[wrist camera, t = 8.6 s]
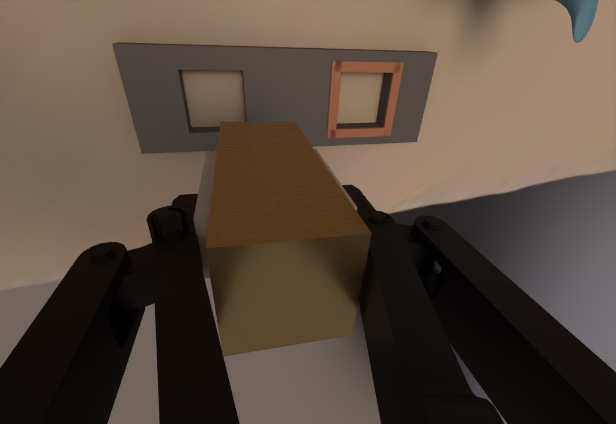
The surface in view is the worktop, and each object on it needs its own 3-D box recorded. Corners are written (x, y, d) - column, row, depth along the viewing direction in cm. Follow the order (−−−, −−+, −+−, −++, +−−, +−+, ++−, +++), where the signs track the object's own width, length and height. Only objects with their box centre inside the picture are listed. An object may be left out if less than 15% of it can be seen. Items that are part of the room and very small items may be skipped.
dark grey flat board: (146, 146, 33) (141, 154, 31) (119, 42, 27) (110, 43, 25) (408, 137, 39) (418, 142, 37) (427, 51, 34) (439, 53, 32)
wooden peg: (227, 189, 20) (223, 356, 10) (220, 122, 17) (205, 248, 7) (293, 186, 20) (352, 334, 10) (294, 121, 18) (371, 233, 8)
